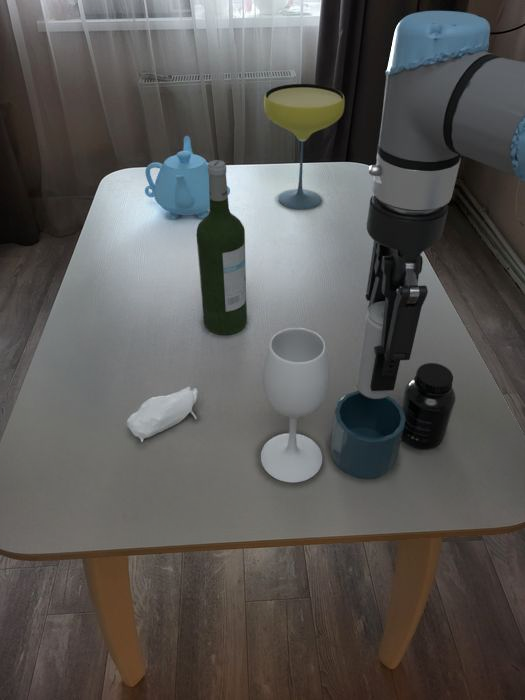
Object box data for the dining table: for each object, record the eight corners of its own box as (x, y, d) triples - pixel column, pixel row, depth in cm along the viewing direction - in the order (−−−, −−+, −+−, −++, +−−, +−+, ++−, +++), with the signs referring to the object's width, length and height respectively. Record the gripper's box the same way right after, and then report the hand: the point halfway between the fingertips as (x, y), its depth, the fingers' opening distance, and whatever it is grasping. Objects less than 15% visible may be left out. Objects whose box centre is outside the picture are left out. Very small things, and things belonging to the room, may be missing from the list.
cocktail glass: (282, 222, 131) (285, 112, 115) (252, 191, 144) (251, 89, 127) (349, 208, 137) (360, 101, 120) (314, 179, 149) (320, 79, 133)
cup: (408, 450, 80) (418, 412, 74) (371, 490, 74) (380, 453, 69) (355, 418, 84) (361, 380, 79) (317, 454, 79) (321, 416, 74)
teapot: (183, 234, 127) (177, 175, 118) (138, 204, 138) (129, 148, 129) (238, 212, 135) (237, 155, 126) (191, 186, 146) (187, 132, 137)
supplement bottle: (407, 409, 86) (422, 350, 78) (450, 428, 83) (469, 369, 75) (388, 437, 81) (401, 378, 74) (432, 459, 78) (451, 399, 71)
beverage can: (401, 391, 70) (418, 316, 63) (373, 407, 68) (387, 331, 61) (375, 370, 74) (388, 295, 66) (347, 384, 71) (358, 309, 64)
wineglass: (329, 478, 76) (343, 365, 62) (266, 487, 75) (267, 373, 61) (314, 430, 82) (324, 318, 69) (256, 438, 81) (255, 325, 68)
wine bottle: (217, 305, 106) (207, 149, 87) (254, 316, 104) (252, 158, 84) (196, 328, 101) (179, 168, 81) (234, 340, 98) (227, 178, 79)
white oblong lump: (178, 405, 88) (120, 423, 82) (188, 376, 84) (127, 392, 78) (194, 428, 86) (135, 448, 80) (204, 399, 82) (143, 418, 75)
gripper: (355, 162, 61) (336, 328, 76) (391, 246, 47) (360, 428, 62) (423, 160, 61) (391, 327, 76) (479, 244, 47) (426, 426, 63)
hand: (377, 372), depth 69 cm, fingers closed on beverage can, 5 cm apart
